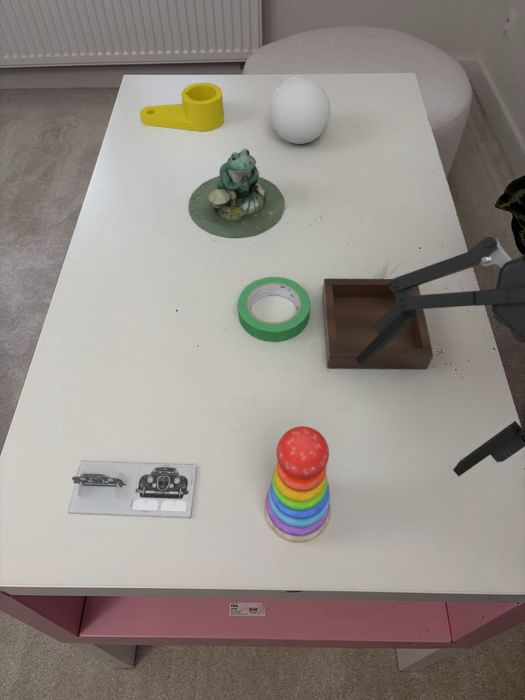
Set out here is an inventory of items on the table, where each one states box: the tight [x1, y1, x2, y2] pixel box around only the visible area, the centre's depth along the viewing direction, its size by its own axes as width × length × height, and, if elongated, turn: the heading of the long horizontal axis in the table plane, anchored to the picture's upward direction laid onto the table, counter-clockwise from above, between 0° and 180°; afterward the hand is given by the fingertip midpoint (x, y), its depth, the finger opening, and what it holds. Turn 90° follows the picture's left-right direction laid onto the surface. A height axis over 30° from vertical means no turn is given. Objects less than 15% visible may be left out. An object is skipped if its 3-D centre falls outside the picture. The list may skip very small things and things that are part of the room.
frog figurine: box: [188, 147, 286, 239], centre depth 92 cm, size 18×18×12 cm
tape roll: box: [237, 276, 311, 342], centre depth 80 cm, size 11×11×3 cm
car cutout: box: [67, 460, 198, 519], centre depth 63 cm, size 15×7×4 cm, turn 88°
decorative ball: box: [269, 76, 331, 145], centre depth 103 cm, size 12×12×12 cm
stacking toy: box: [264, 425, 332, 544], centre depth 56 cm, size 8×8×19 cm
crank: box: [139, 82, 225, 132], centre depth 110 cm, size 18×8×6 cm, turn 87°
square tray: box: [321, 278, 434, 370], centre depth 78 cm, size 14×14×4 cm
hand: (408, 412), depth 50 cm, fingers open, 13 cm apart
